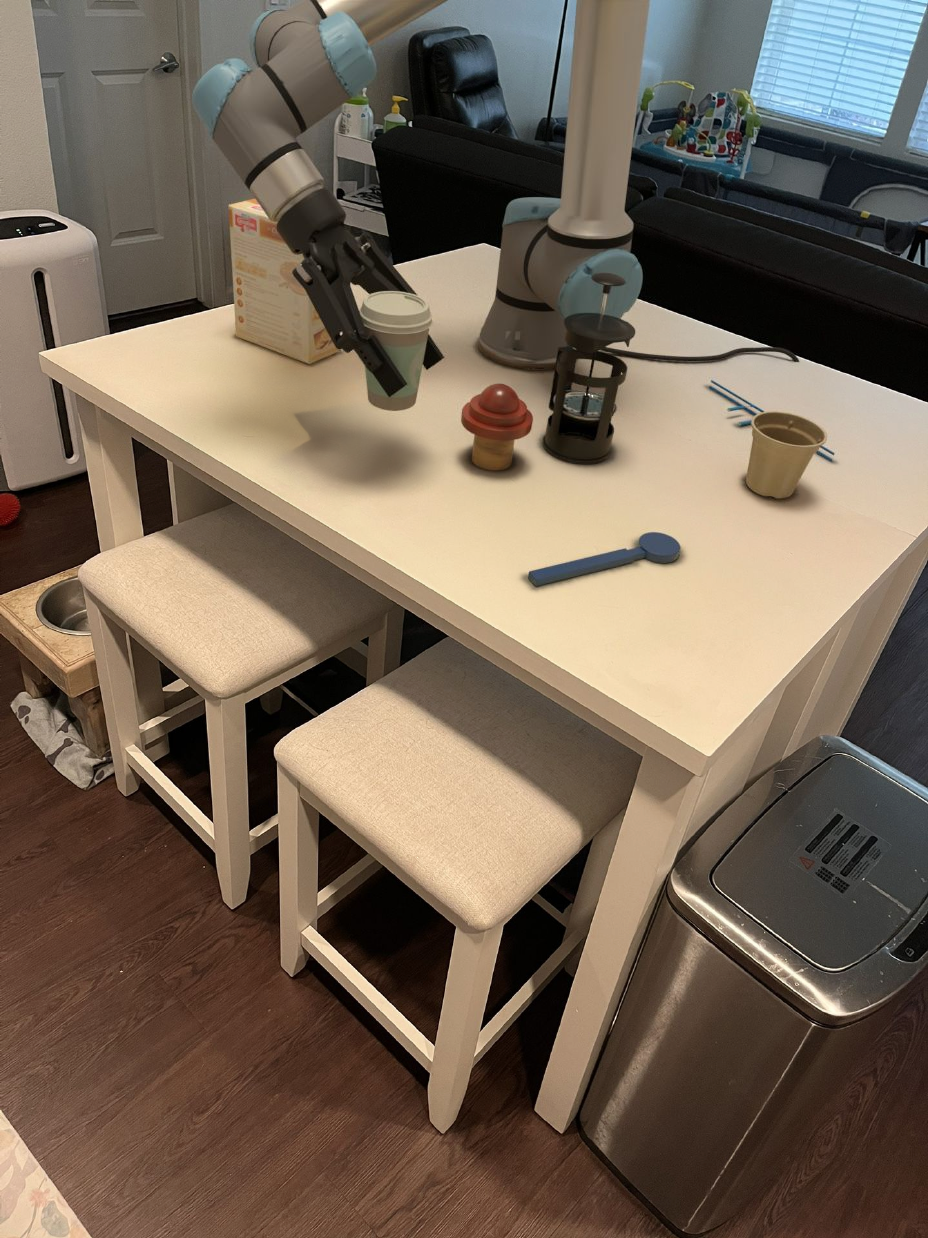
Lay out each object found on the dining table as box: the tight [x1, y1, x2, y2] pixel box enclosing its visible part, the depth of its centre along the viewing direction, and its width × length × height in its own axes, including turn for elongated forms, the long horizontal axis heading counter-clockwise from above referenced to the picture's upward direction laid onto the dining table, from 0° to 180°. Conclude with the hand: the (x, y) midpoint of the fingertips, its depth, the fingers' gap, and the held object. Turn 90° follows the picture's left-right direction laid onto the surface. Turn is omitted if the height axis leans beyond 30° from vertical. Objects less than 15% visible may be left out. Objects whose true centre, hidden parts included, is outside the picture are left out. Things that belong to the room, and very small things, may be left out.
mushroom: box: [460, 383, 534, 471], centre depth 117 cm, size 9×9×10 cm
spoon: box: [527, 531, 681, 587], centre depth 103 cm, size 20×5×1 cm, turn 118°
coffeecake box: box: [228, 198, 339, 365], centre depth 136 cm, size 15×7×20 cm, turn 58°
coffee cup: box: [359, 291, 434, 412], centre depth 108 cm, size 8×8×12 cm
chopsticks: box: [708, 379, 835, 462], centre depth 136 cm, size 1×25×5 cm
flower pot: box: [745, 410, 828, 499], centre depth 119 cm, size 9×9×9 cm
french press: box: [542, 273, 636, 465], centre depth 118 cm, size 12×9×23 cm
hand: (417, 376), depth 109 cm, fingers closed on coffee cup, 8 cm apart
